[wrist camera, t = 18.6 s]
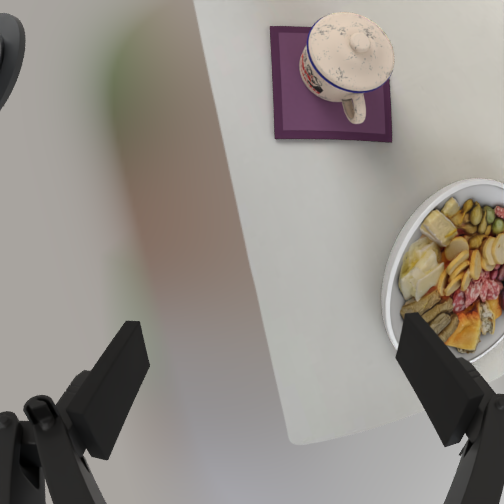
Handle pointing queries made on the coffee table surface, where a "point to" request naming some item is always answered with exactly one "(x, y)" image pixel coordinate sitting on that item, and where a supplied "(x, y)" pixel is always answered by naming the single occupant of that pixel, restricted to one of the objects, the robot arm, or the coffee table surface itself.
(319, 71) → the teacup with lid
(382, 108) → the place mat
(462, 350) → the bowl
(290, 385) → the coffee table surface
